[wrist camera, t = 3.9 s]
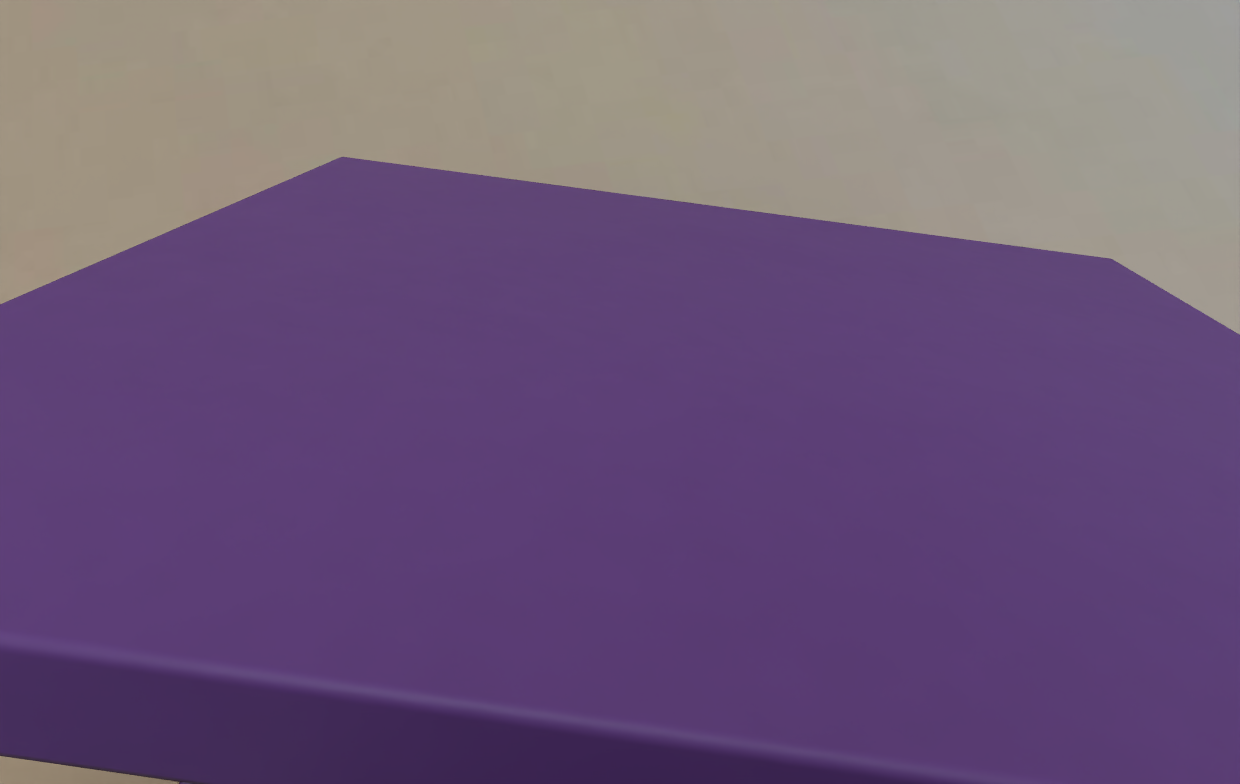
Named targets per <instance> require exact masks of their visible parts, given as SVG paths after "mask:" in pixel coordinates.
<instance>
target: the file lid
mask: <svg viewBox="0 0 1240 784" xmlns="http://www.w3.org/2000/svg"><path fill="white" fill-rule="evenodd" d="M0 756H5V757H12V758H19V759H26V760H33V761H40V762H47V763H54V764H61V765H68V766H75V767H81V768H88V769H95V770H102V771H109V772H116V773H123V774H130V775H137V776H144V777H150V778H157V779H164V780H171V781H178V782H185V783H192V784H1240V335H1239V334H1237V333H1236V332H1234V331H1232V330H1231V329H1229V328H1227V327H1226V326H1224V325H1222V324H1221V323H1219V322H1217V321H1215V320H1214V319H1212V318H1210V317H1209V316H1207V315H1205V314H1204V313H1202V312H1200V311H1199V310H1197V309H1195V308H1194V307H1192V306H1190V305H1188V304H1187V303H1185V302H1183V301H1182V300H1180V299H1178V298H1177V297H1175V296H1173V295H1172V294H1170V293H1168V292H1167V291H1165V290H1163V289H1161V288H1160V287H1158V286H1156V285H1155V284H1153V283H1151V282H1150V281H1148V280H1146V279H1145V278H1143V277H1141V276H1139V275H1138V274H1136V273H1134V272H1133V271H1131V270H1129V269H1128V268H1126V267H1124V266H1123V265H1121V264H1119V263H1118V262H1116V261H1114V260H1112V259H1109V258H1101V257H1094V256H1086V255H1078V254H1071V253H1063V252H1056V251H1048V250H1041V249H1033V248H1026V247H1018V246H1011V245H1003V244H996V243H988V242H981V241H973V240H965V239H958V238H950V237H943V236H935V235H928V234H920V233H913V232H905V231H898V230H890V229H883V228H875V227H867V226H860V225H852V224H845V223H837V222H830V221H822V220H815V219H807V218H800V217H792V216H785V215H777V214H770V213H762V212H754V211H747V210H739V209H732V208H724V207H717V206H709V205H702V204H694V203H687V202H679V201H672V200H664V199H656V198H649V197H641V196H634V195H626V194H619V193H611V192H604V191H596V190H589V189H581V188H574V187H566V186H559V185H551V184H543V183H536V182H528V181H521V180H513V179H506V178H498V177H491V176H483V175H476V174H468V173H461V172H453V171H445V170H438V169H430V168H423V167H415V166H408V165H400V164H393V163H385V162H378V161H370V160H363V159H355V158H348V157H341V158H338V159H336V160H333V161H331V162H329V163H326V164H324V165H322V166H319V167H317V168H315V169H312V170H310V171H308V172H305V173H303V174H301V175H299V176H296V177H294V178H292V179H289V180H287V181H285V182H282V183H280V184H278V185H275V186H273V187H271V188H268V189H266V190H264V191H262V192H259V193H257V194H255V195H252V196H250V197H248V198H245V199H243V200H241V201H238V202H236V203H234V204H231V205H229V206H227V207H225V208H222V209H220V210H218V211H215V212H213V213H211V214H208V215H206V216H204V217H201V218H199V219H197V220H194V221H192V222H190V223H188V224H185V225H183V226H181V227H178V228H176V229H174V230H171V231H169V232H167V233H164V234H162V235H160V236H157V237H155V238H153V239H151V240H148V241H146V242H144V243H141V244H139V245H137V246H134V247H132V248H130V249H127V250H125V251H123V252H120V253H118V254H116V255H114V256H111V257H109V258H107V259H104V260H102V261H100V262H97V263H95V264H93V265H90V266H88V267H86V268H83V269H81V270H79V271H77V272H74V273H72V274H70V275H67V276H65V277H63V278H60V279H58V280H56V281H53V282H51V283H49V284H46V285H44V286H42V287H40V288H37V289H35V290H33V291H30V292H28V293H26V294H23V295H21V296H19V297H16V298H14V299H12V300H9V301H7V302H5V303H3V304H0Z"/></svg>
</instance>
